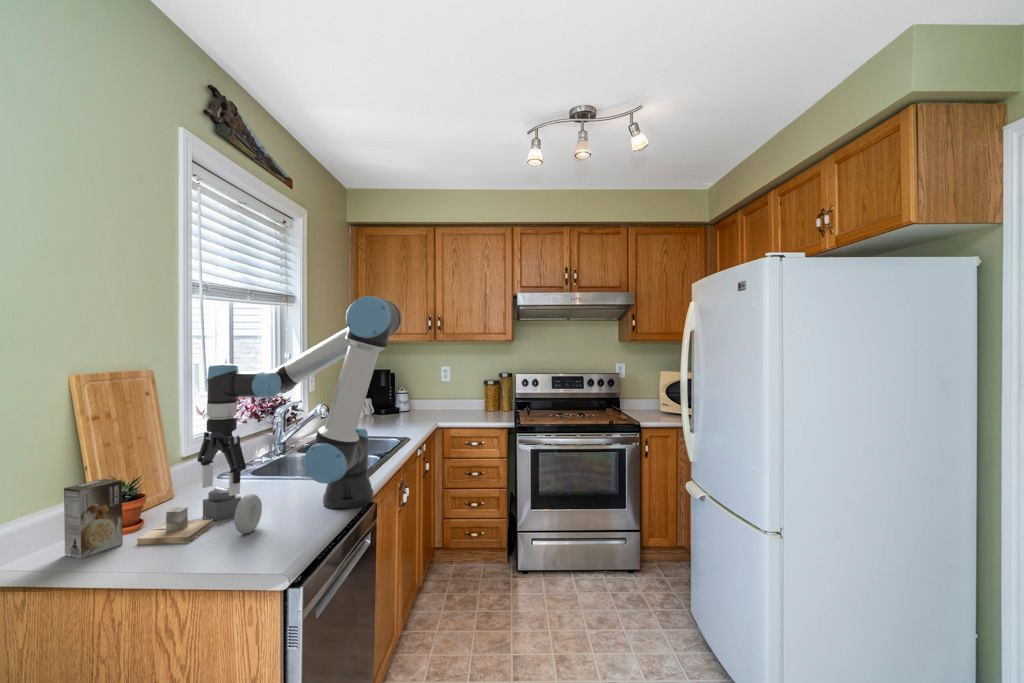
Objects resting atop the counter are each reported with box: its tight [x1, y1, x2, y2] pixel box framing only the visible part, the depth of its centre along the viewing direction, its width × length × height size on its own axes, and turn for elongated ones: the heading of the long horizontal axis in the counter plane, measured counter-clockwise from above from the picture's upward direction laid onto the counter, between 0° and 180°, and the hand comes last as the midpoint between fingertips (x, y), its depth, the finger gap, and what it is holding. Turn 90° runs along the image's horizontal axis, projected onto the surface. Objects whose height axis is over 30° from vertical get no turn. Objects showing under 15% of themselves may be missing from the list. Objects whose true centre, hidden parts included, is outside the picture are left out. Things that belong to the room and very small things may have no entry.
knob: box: [202, 486, 242, 522], centre depth 143 cm, size 7×7×8 cm
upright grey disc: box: [233, 493, 263, 535], centre depth 130 cm, size 10×4×10 cm, turn 0°
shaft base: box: [136, 506, 214, 546], centre depth 129 cm, size 12×12×6 cm
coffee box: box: [63, 478, 124, 559], centre depth 119 cm, size 9×6×16 cm
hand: (220, 490), depth 143 cm, fingers open, 13 cm apart
